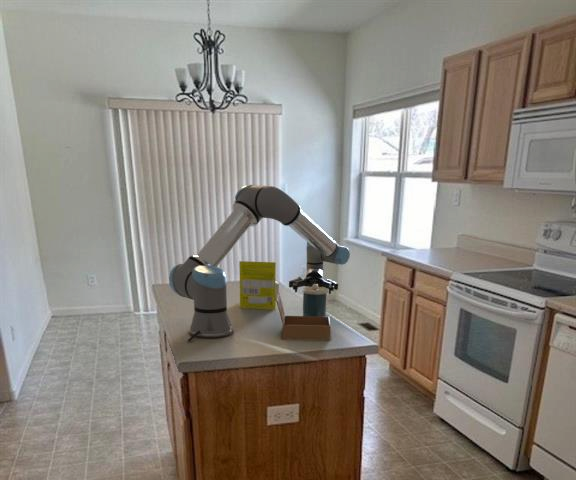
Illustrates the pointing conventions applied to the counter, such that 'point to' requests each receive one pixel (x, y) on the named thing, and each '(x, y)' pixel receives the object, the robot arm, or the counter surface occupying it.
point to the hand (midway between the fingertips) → (312, 290)
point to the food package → (257, 284)
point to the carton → (306, 327)
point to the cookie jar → (314, 301)
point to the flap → (280, 307)
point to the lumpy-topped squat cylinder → (276, 289)
